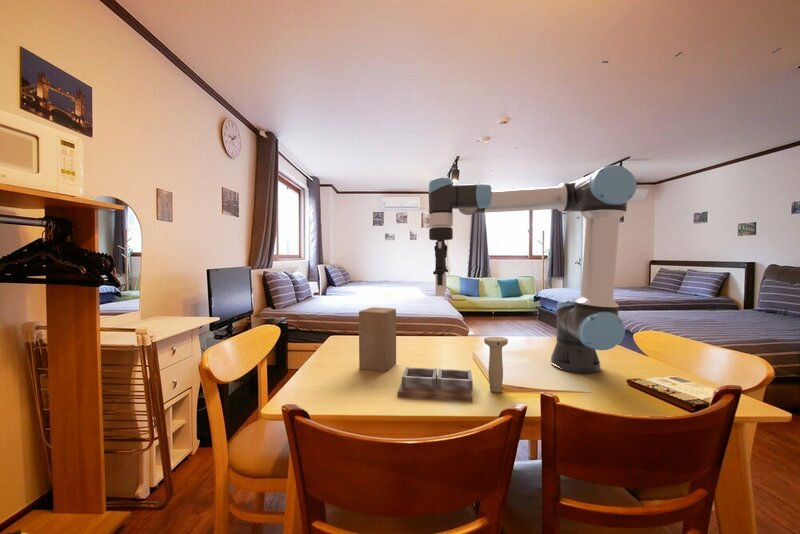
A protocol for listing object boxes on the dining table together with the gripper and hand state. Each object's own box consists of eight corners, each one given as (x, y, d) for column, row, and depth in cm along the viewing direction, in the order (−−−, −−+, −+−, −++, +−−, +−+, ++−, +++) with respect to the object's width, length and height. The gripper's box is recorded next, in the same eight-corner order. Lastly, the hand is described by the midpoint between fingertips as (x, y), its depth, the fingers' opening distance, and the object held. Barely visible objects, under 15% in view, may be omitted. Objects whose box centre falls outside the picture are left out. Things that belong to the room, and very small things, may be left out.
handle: (509, 394, 91) (510, 340, 90) (486, 394, 91) (486, 341, 90) (504, 387, 96) (504, 336, 95) (482, 387, 96) (482, 336, 95)
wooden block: (358, 369, 112) (358, 311, 112) (371, 360, 122) (371, 307, 121) (385, 372, 109) (384, 312, 108) (396, 363, 118) (396, 308, 117)
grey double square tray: (470, 381, 100) (470, 367, 100) (473, 401, 86) (473, 384, 86) (405, 378, 103) (404, 364, 103) (397, 396, 90) (397, 380, 90)
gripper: (432, 231, 118) (432, 289, 118) (425, 224, 93) (426, 298, 94) (453, 230, 116) (453, 289, 117) (451, 223, 92) (452, 298, 93)
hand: (441, 293), depth 105 cm, fingers open, 13 cm apart
